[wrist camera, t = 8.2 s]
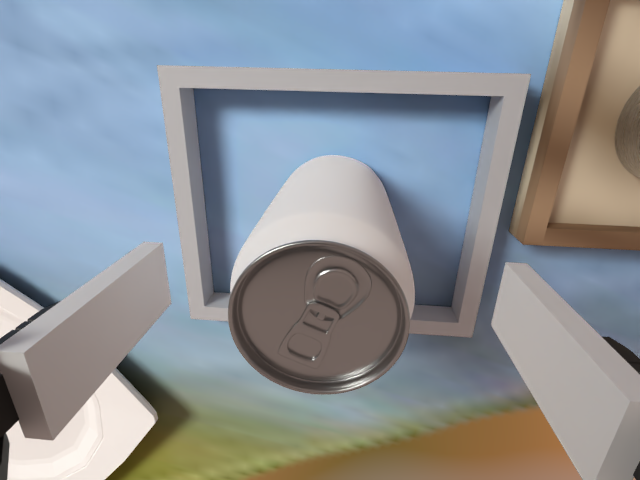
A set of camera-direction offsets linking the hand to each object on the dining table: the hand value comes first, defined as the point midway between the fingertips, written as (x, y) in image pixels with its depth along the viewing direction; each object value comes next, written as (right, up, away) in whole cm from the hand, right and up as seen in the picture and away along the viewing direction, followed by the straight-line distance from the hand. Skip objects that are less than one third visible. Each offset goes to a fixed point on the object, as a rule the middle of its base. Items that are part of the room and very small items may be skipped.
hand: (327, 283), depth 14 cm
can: (+1, +4, +8) cm, 9 cm away
